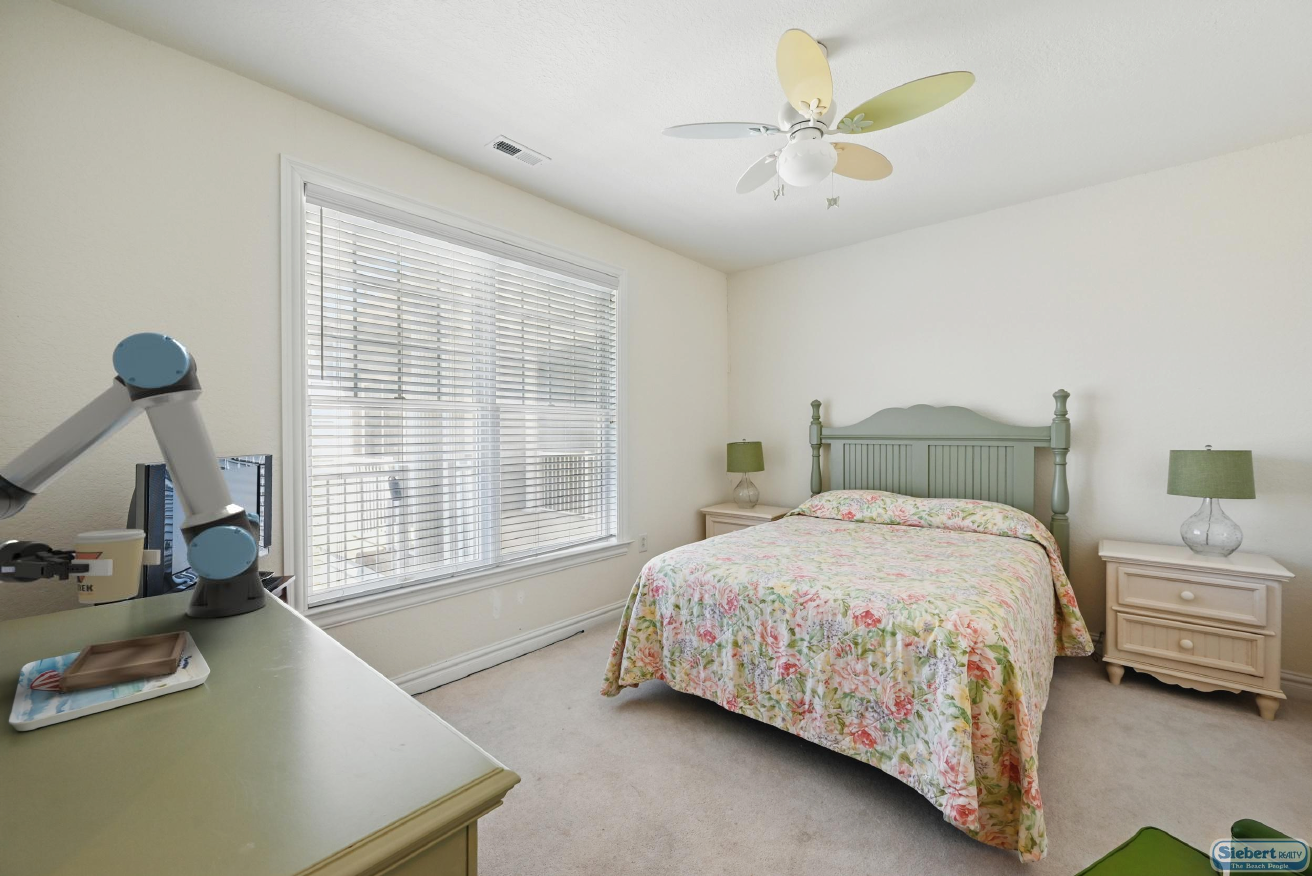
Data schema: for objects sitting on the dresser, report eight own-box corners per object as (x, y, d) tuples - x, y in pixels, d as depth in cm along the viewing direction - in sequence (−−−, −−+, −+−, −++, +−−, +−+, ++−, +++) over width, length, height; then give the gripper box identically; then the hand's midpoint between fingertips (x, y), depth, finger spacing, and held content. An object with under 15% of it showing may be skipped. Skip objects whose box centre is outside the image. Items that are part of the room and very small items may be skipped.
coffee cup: (64, 600, 99) (66, 533, 99) (132, 589, 107) (134, 527, 108) (82, 607, 94) (84, 537, 95) (152, 595, 103) (154, 531, 103)
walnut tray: (185, 643, 110) (186, 630, 110) (175, 672, 95) (176, 658, 95) (86, 658, 101) (86, 645, 101) (58, 693, 87) (59, 677, 87)
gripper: (74, 569, 112) (185, 570, 112) (-64, 597, 90) (73, 598, 90) (75, 532, 112) (186, 533, 112) (-62, 551, 91) (74, 552, 90)
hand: (135, 562), depth 101 cm, fingers closed on coffee cup, 9 cm apart
